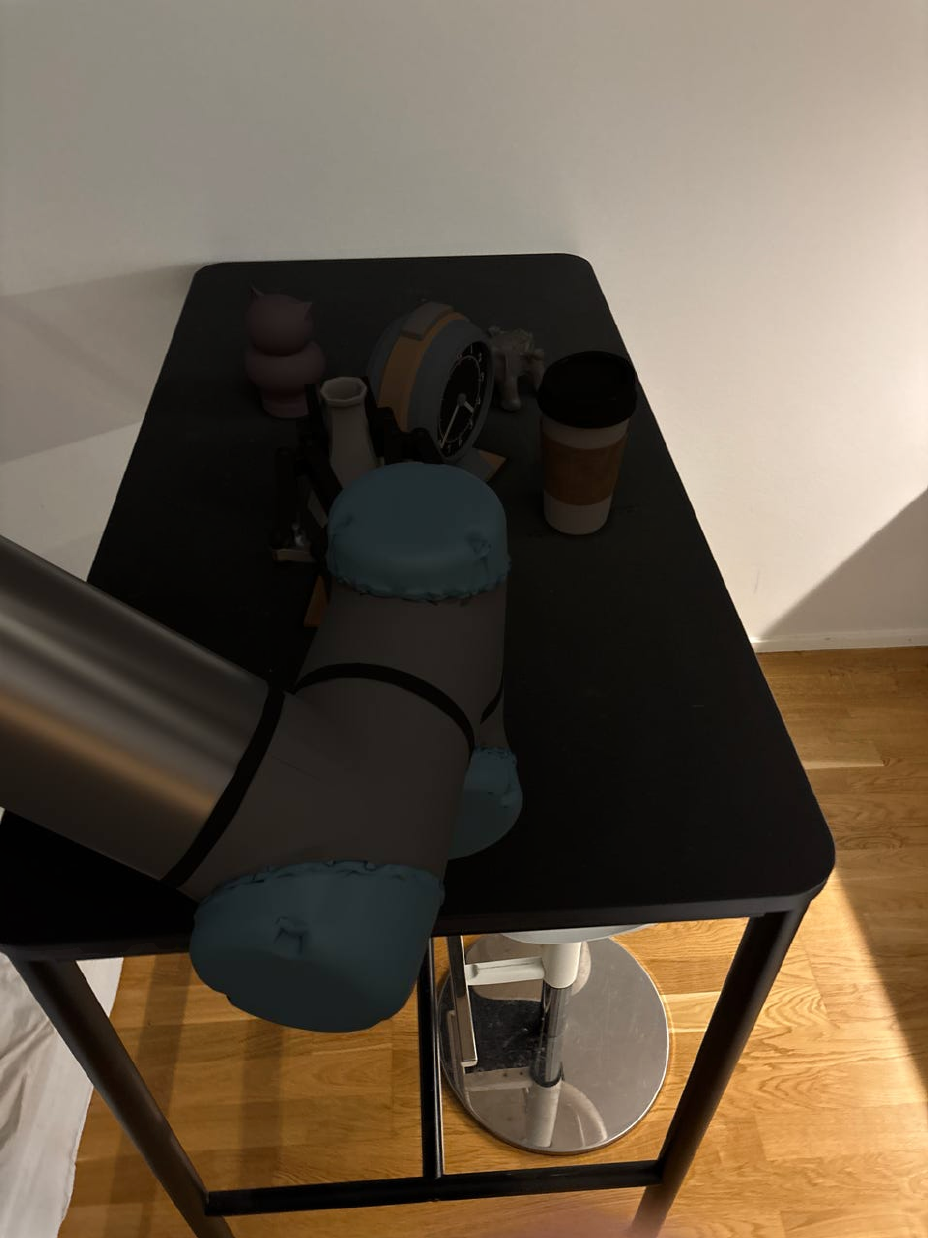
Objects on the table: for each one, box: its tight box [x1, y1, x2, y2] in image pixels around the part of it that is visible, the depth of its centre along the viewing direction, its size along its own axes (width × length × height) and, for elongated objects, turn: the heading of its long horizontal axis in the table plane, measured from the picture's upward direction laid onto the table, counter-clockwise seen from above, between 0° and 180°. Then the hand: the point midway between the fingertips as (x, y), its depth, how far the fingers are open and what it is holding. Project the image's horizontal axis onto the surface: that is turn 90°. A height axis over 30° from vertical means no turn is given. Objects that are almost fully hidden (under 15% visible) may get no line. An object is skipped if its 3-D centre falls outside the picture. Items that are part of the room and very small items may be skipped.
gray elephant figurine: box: [486, 324, 546, 412], centre depth 102 cm, size 9×12×8 cm
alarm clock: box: [364, 301, 507, 484], centre depth 89 cm, size 14×10×18 cm
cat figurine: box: [243, 285, 326, 419], centre depth 101 cm, size 8×8×12 cm
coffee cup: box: [536, 350, 638, 536], centre depth 86 cm, size 8×8×15 cm
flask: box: [306, 376, 384, 529], centre depth 70 cm, size 7×7×10 cm
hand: (337, 396), depth 73 cm, fingers closed on flask, 3 cm apart
